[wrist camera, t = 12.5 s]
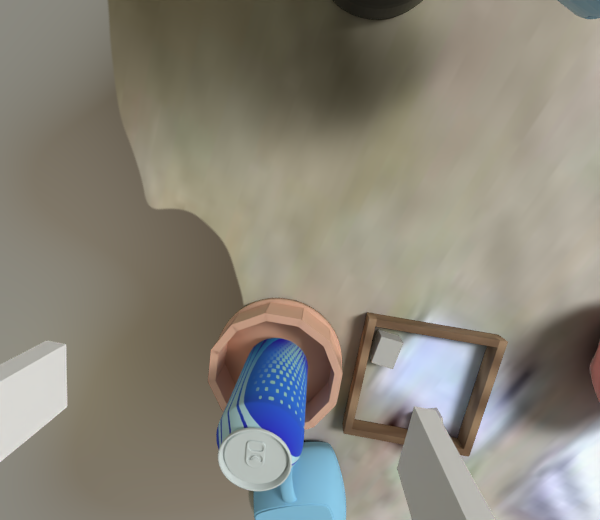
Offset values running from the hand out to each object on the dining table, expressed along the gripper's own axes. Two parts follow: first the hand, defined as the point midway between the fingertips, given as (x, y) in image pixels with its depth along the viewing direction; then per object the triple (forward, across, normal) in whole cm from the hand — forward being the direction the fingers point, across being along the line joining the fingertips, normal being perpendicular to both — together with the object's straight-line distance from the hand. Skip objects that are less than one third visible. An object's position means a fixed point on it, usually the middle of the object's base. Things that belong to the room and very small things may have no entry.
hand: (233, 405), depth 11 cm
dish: (+29, 0, -15) cm, 32 cm away
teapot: (+29, +7, -34) cm, 45 cm away
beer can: (+28, 0, -15) cm, 32 cm away
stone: (+29, +14, -10) cm, 34 cm away
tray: (+29, +20, -15) cm, 38 cm away
